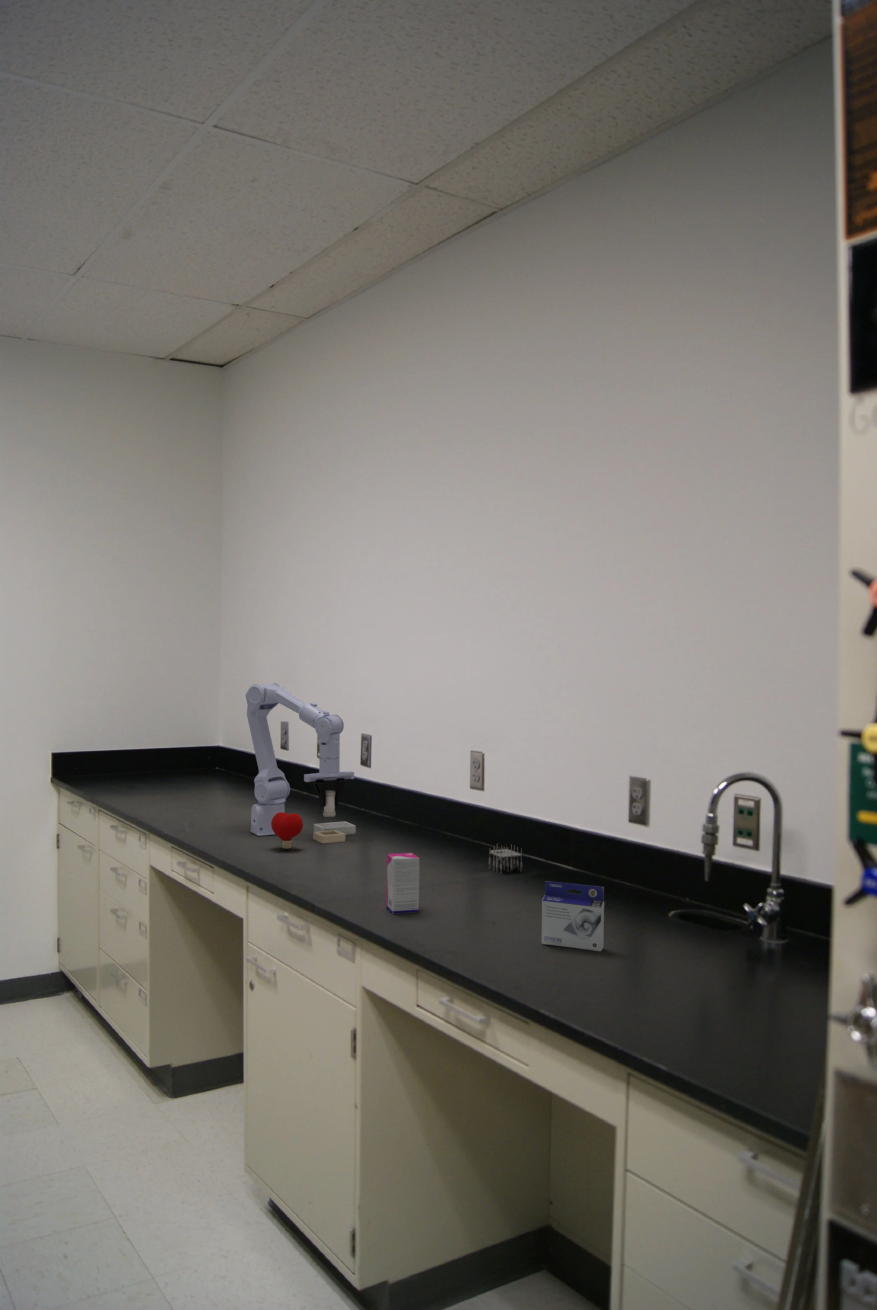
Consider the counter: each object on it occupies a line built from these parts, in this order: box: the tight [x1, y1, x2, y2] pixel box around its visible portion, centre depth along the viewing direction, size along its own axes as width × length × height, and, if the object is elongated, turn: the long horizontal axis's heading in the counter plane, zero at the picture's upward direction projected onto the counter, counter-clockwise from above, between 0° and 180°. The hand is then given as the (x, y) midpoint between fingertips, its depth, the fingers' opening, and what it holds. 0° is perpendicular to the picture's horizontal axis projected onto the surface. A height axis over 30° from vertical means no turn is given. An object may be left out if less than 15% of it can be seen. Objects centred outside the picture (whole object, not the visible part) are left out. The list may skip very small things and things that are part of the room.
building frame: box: [487, 843, 523, 875], centre depth 241 cm, size 6×8×6 cm
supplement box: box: [386, 852, 420, 915], centre depth 204 cm, size 6×6×12 cm
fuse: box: [322, 789, 336, 818], centre depth 277 cm, size 3×3×7 cm
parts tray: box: [313, 821, 357, 836], centre depth 286 cm, size 10×8×2 cm
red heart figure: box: [271, 811, 304, 851], centre depth 263 cm, size 9×7×10 cm
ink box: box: [541, 880, 605, 952], centre depth 179 cm, size 12×2×12 cm, turn 69°
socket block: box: [312, 830, 346, 844], centre depth 277 cm, size 7×7×2 cm
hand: (329, 805), depth 277 cm, fingers closed on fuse, 3 cm apart
